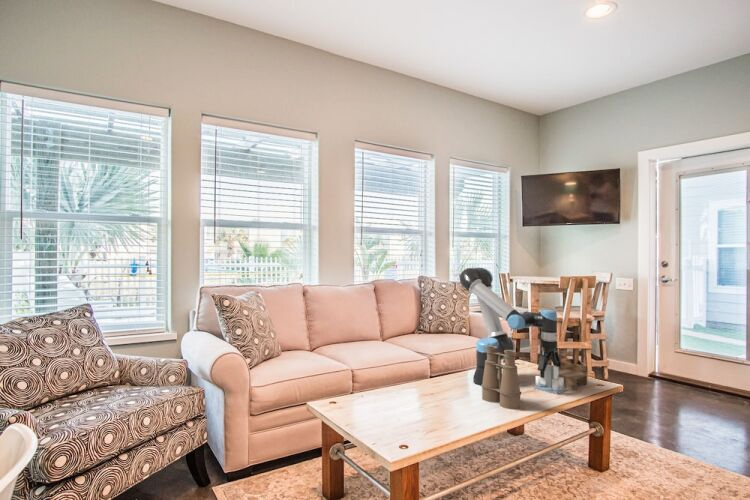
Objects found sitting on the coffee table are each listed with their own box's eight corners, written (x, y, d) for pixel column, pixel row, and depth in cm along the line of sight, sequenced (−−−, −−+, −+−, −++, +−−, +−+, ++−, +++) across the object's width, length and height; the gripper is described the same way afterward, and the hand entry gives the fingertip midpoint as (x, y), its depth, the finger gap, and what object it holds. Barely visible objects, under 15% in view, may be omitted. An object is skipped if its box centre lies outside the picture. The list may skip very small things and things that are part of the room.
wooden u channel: (549, 383, 226) (548, 366, 226) (561, 378, 236) (561, 361, 236) (575, 389, 216) (575, 371, 216) (587, 384, 226) (587, 366, 226)
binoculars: (476, 397, 203) (476, 346, 203) (490, 394, 208) (490, 344, 209) (511, 411, 186) (511, 354, 186) (526, 406, 191) (525, 351, 192)
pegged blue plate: (533, 389, 217) (533, 365, 218) (543, 385, 224) (542, 361, 224) (556, 394, 208) (556, 369, 209) (565, 390, 215) (565, 366, 215)
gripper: (544, 344, 206) (544, 387, 205) (567, 338, 222) (567, 378, 222) (530, 342, 211) (530, 384, 211) (553, 336, 228) (553, 375, 227)
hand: (549, 381), depth 216 cm, fingers open, 13 cm apart
